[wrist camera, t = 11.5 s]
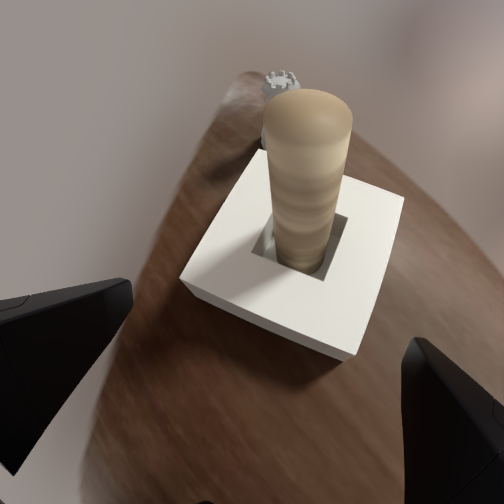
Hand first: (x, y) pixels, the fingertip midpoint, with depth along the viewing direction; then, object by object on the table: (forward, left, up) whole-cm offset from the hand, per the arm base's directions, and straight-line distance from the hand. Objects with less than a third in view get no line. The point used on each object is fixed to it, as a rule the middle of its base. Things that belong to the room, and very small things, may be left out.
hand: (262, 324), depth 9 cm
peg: (+8, +2, -12) cm, 14 cm away
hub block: (+8, +2, -13) cm, 15 cm away
